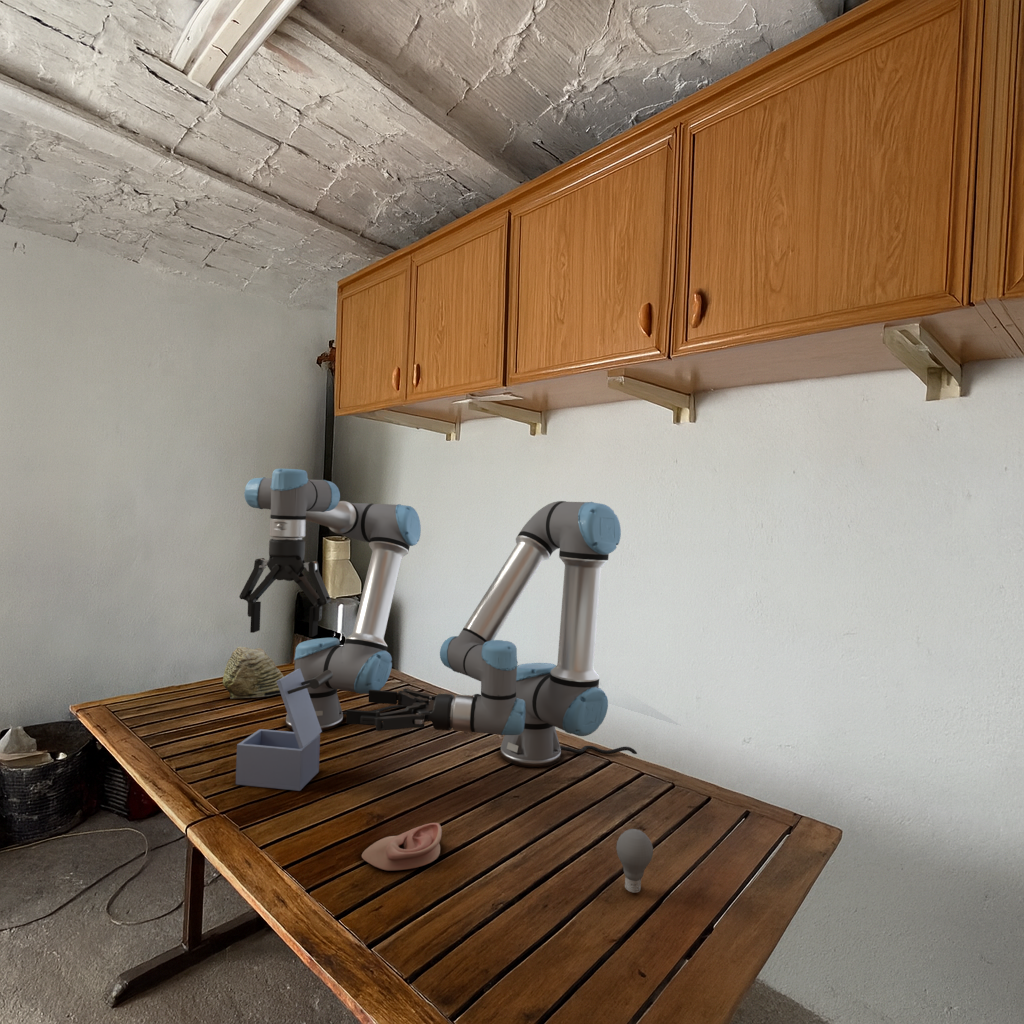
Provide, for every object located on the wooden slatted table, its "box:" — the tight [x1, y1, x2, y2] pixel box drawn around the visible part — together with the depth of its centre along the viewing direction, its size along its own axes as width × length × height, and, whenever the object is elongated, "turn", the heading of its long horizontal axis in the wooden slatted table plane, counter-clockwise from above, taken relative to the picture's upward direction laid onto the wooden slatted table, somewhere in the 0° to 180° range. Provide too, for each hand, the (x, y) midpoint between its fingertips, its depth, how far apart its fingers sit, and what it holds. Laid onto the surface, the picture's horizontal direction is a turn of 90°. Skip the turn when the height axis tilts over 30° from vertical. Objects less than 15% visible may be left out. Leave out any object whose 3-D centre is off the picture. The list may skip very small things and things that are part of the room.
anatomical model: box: [361, 822, 443, 872], centre depth 114 cm, size 13×4×12 cm
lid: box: [277, 669, 333, 749], centre depth 140 cm, size 15×10×8 cm
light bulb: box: [615, 828, 654, 894], centre depth 106 cm, size 6×6×10 cm
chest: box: [235, 728, 321, 792], centre depth 141 cm, size 15×10×9 cm, turn 83°
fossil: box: [222, 646, 285, 699], centre depth 198 cm, size 9×18×15 cm, turn 132°
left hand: (283, 633), depth 141 cm, fingers open, 13 cm apart
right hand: (358, 705), depth 139 cm, fingers open, 13 cm apart
